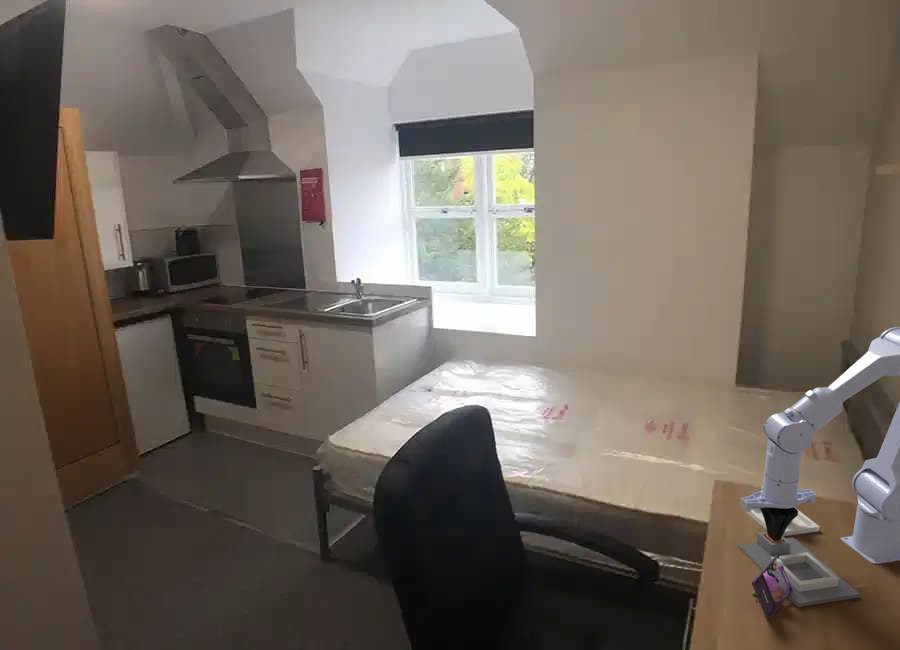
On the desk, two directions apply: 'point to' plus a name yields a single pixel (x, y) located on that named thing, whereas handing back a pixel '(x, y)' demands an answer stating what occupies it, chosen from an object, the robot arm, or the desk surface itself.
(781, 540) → the button
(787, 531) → the tray
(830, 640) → the desk surface
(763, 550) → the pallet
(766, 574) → the eggplant monster toy
